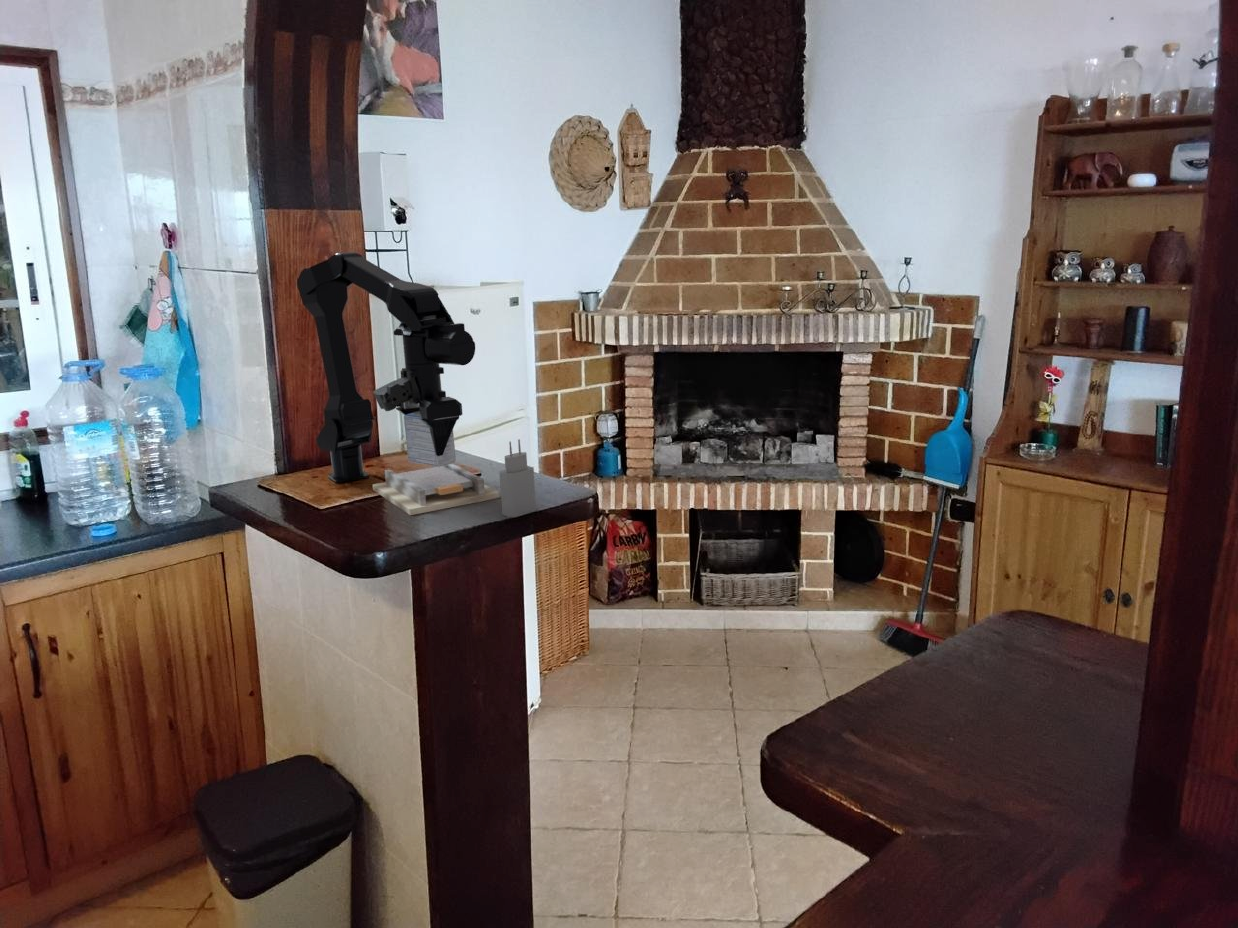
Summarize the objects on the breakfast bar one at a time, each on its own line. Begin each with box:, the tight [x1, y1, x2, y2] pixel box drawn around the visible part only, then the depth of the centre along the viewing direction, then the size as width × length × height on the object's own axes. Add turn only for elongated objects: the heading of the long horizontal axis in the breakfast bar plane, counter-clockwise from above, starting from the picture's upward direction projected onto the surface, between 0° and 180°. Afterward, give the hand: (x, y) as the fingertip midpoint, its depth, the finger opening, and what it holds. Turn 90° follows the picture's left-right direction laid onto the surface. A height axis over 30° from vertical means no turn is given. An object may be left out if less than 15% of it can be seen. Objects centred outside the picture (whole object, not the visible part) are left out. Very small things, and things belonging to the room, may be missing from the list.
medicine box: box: [403, 411, 457, 467], centre depth 161 cm, size 8×4×9 cm, turn 53°
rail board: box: [372, 463, 501, 516], centre depth 163 cm, size 20×16×4 cm
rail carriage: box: [397, 466, 473, 495], centre depth 162 cm, size 16×9×1 cm, turn 32°
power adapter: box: [499, 439, 537, 518], centre depth 149 cm, size 3×5×12 cm, turn 136°
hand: (430, 450), depth 162 cm, fingers closed on medicine box, 9 cm apart
